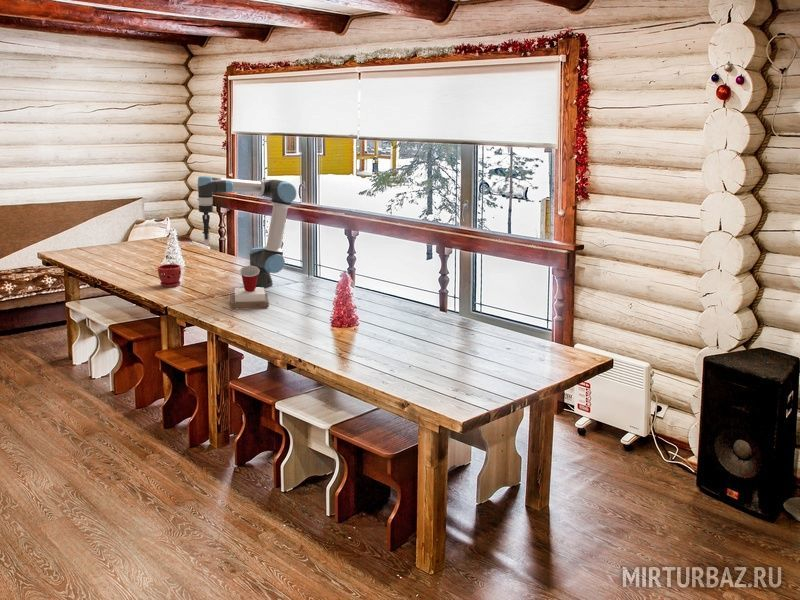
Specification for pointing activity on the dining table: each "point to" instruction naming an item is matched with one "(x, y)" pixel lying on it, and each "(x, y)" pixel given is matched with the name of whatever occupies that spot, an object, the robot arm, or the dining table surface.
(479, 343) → the dining table surface
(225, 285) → the dining table surface
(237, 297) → the tower top slab
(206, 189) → the robot arm
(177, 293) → the dining table surface
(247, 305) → the tower base slab
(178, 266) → the plant pot
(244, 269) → the plastic cup
